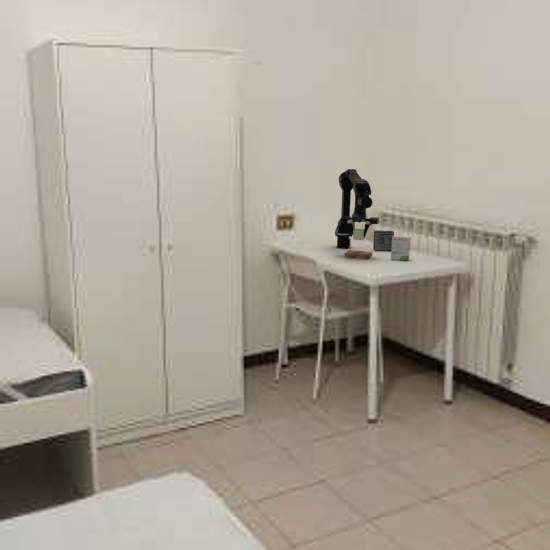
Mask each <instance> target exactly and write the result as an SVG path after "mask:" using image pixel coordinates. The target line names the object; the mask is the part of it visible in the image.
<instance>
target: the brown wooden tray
mask: <svg viewBox="0 0 550 550" xmlns="http://www.w3.org/2000/svg"><path fill="white" fill-rule="evenodd" d="M371 256H372V257H373V251H366V250H353V249H349V250H347V251H346V252H345V253H344V258H345V257H346V258H347V259H356V258H362V259H361V260H369V259H370V258H371ZM346 258H345V259H346Z"/></svg>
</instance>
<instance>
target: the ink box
mask: <svg viewBox="0 0 550 550" xmlns="http://www.w3.org/2000/svg"><path fill="white" fill-rule="evenodd" d="M410 248H411V236H408V235H407V236H405V235H404V236H403V235H394V236H393V237H392V249H391V251H390V260H391V259H394V260H393V261H400V260H408V261H409V260H410Z"/></svg>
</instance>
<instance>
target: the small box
mask: <svg viewBox="0 0 550 550" xmlns="http://www.w3.org/2000/svg"><path fill="white" fill-rule="evenodd" d="M393 236H395V231H394V230H378V229H377V230H373V246H372V247H373V249H374V250H375V251H374V250H373V251H374V252H391V249H392V237H393Z"/></svg>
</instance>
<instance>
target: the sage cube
mask: <svg viewBox="0 0 550 550" xmlns="http://www.w3.org/2000/svg"><path fill="white" fill-rule="evenodd" d="M364 230H365V228H357V227H355V229H354V230H353V235H352V239H353V241H355V240H356V241H364V240H366V236H365V237H364Z"/></svg>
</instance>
